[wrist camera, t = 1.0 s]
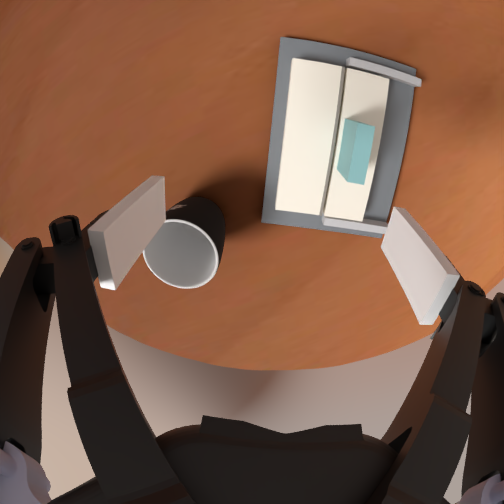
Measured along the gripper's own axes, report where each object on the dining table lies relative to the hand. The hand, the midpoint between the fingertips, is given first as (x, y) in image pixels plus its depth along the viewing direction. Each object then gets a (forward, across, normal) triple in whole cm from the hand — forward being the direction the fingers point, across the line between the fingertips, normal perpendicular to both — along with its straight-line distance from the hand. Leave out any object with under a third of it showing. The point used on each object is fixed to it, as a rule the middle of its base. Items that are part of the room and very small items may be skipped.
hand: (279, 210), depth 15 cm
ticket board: (+21, +8, +2) cm, 22 cm away
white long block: (+19, +9, +2) cm, 21 cm away
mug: (+21, -10, -12) cm, 26 cm away
